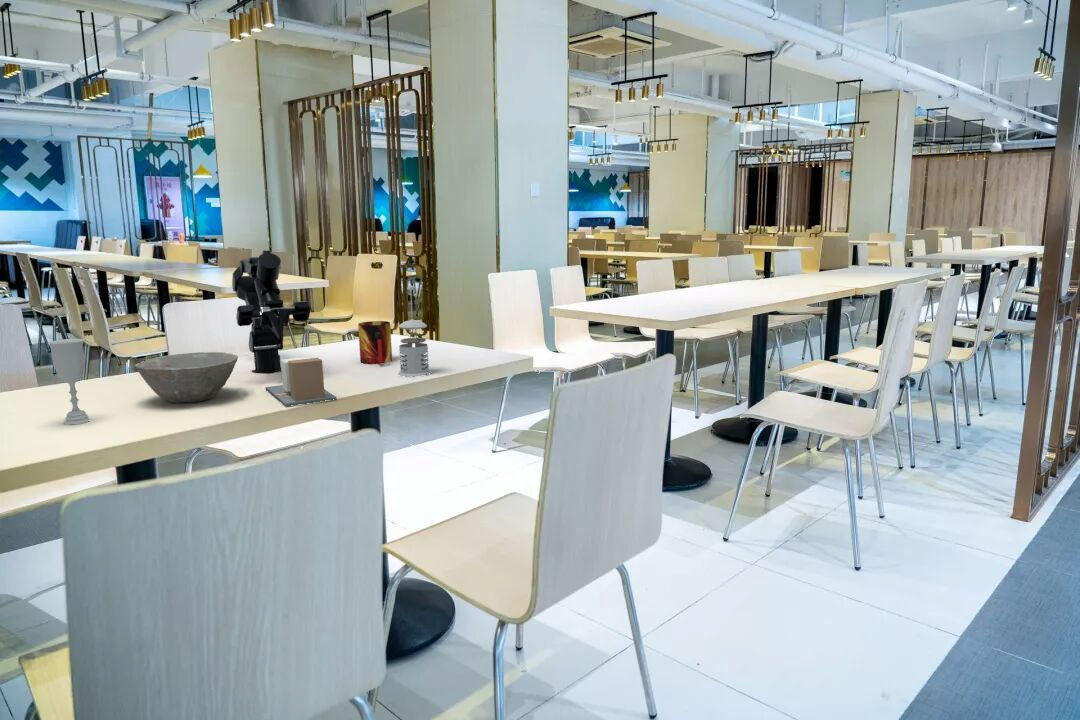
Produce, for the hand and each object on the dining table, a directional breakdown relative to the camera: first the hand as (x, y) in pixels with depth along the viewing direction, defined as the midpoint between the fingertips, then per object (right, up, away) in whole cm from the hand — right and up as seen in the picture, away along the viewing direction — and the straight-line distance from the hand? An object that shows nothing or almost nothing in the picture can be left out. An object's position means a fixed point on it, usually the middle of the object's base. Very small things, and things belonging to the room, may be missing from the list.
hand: (280, 337), depth 198 cm
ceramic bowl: (-17, -16, -14) cm, 27 cm away
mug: (+20, -7, +31) cm, 38 cm away
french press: (+33, -10, +14) cm, 37 cm away
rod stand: (+9, -15, -11) cm, 20 cm away
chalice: (-33, -20, -33) cm, 51 cm away
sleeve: (+9, -13, -12) cm, 20 cm away
